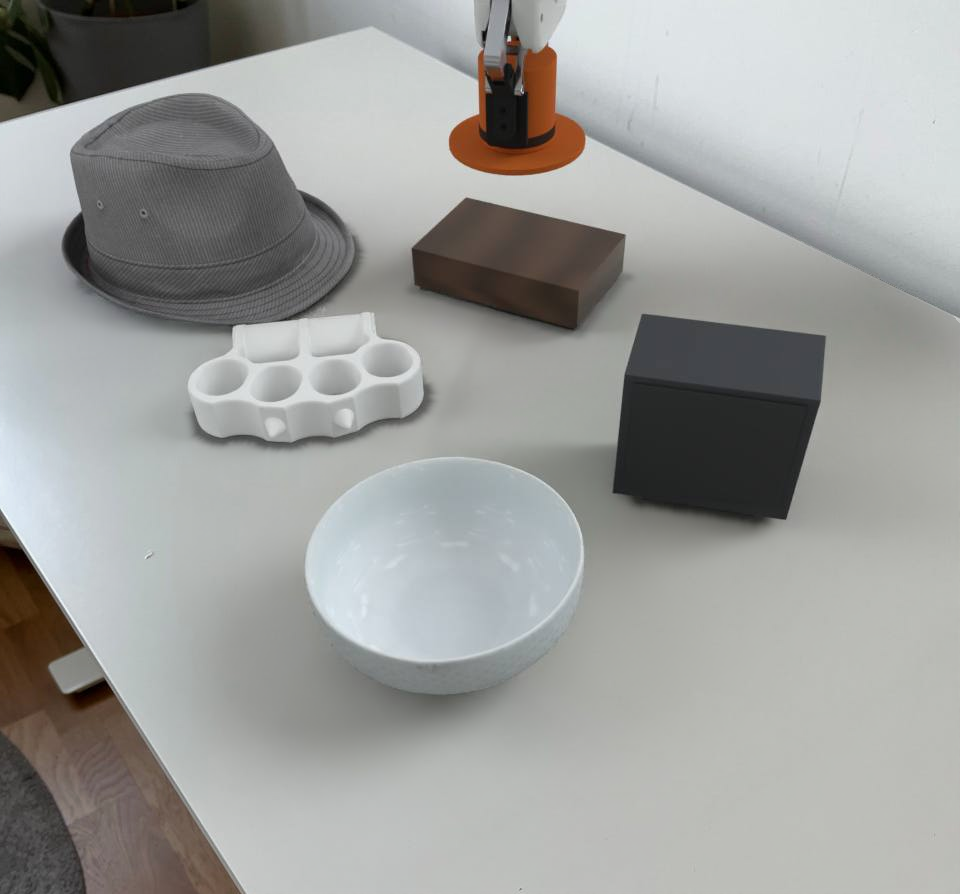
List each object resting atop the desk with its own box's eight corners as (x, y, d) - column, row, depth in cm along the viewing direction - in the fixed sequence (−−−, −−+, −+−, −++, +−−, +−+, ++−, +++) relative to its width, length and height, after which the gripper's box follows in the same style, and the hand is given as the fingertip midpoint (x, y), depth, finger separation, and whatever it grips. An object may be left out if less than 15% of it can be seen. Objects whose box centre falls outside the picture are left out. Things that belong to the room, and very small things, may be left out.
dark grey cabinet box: (627, 442, 74) (642, 313, 66) (790, 465, 72) (826, 335, 64) (610, 505, 70) (623, 376, 62) (782, 533, 68) (820, 402, 59)
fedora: (239, 366, 82) (202, 223, 72) (14, 280, 92) (-45, 145, 82) (403, 235, 95) (390, 99, 85) (190, 172, 104) (157, 44, 95)
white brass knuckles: (413, 331, 85) (431, 439, 75) (202, 353, 83) (194, 465, 74) (410, 295, 82) (427, 403, 73) (192, 317, 81) (182, 430, 72)
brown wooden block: (622, 276, 89) (626, 234, 86) (576, 333, 84) (578, 290, 81) (467, 237, 94) (465, 196, 91) (414, 289, 89) (411, 247, 86)
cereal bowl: (388, 509, 71) (377, 430, 65) (611, 566, 66) (620, 487, 61) (272, 687, 61) (248, 612, 55) (526, 768, 56) (528, 695, 51)
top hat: (558, 105, 84) (560, 20, 79) (605, 162, 77) (612, 73, 72) (433, 125, 82) (428, 39, 77) (471, 185, 75) (468, 95, 70)
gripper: (546, -118, 59) (539, 182, 72) (599, -188, 69) (584, 86, 83) (425, -124, 60) (441, 172, 74) (496, -191, 70) (498, 79, 84)
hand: (517, 124), depth 78 cm, fingers closed on top hat, 6 cm apart
